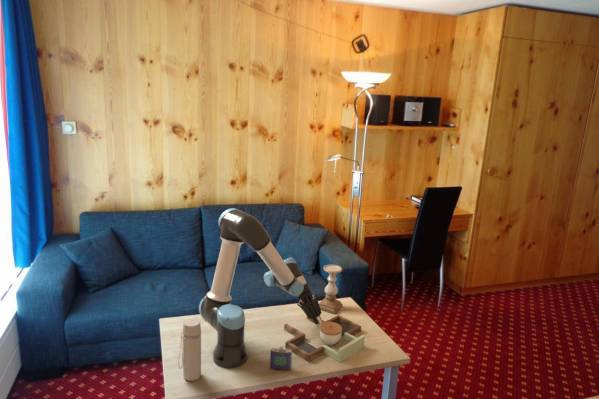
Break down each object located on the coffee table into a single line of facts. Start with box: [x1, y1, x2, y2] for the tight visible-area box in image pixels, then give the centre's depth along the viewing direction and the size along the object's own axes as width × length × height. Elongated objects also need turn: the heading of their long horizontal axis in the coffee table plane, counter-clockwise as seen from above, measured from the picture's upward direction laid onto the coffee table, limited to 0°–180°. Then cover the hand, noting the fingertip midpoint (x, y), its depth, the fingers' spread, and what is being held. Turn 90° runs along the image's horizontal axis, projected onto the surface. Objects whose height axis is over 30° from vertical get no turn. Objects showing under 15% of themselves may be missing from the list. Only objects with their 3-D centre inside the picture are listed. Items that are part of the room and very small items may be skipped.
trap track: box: [283, 314, 366, 363], centre depth 218 cm, size 36×39×6 cm
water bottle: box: [177, 317, 202, 382], centre depth 182 cm, size 9×8×25 cm
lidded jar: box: [319, 322, 342, 346], centre depth 215 cm, size 11×11×9 cm
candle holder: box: [318, 264, 343, 315], centre depth 247 cm, size 11×11×24 cm
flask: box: [269, 346, 293, 372], centre depth 193 cm, size 9×3×11 cm, turn 87°
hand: (322, 329), depth 220 cm, fingers closed
